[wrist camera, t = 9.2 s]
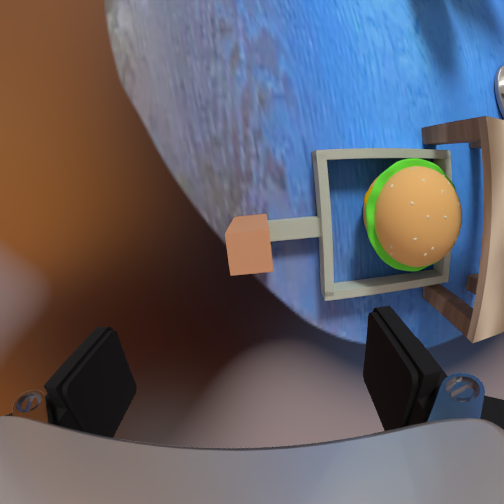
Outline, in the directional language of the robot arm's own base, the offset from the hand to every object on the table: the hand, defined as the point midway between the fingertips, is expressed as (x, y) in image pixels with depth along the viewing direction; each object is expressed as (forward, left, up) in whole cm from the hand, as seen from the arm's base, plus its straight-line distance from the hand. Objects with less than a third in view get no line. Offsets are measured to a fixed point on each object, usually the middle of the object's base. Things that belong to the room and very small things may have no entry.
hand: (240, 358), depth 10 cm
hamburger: (-17, -1, -24) cm, 29 cm away
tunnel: (-26, 0, -23) cm, 35 cm away
